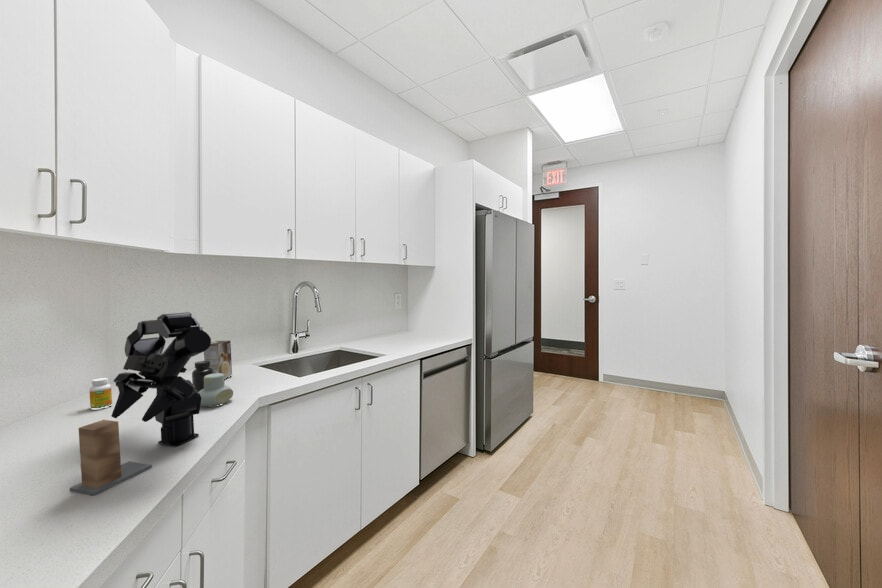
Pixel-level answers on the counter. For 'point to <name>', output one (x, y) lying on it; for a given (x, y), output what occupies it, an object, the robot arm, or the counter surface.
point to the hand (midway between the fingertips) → (128, 419)
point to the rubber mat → (127, 472)
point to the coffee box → (219, 357)
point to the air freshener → (215, 390)
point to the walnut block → (99, 453)
